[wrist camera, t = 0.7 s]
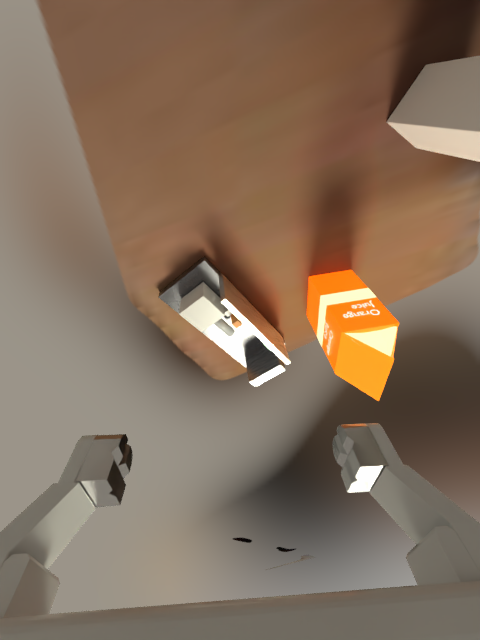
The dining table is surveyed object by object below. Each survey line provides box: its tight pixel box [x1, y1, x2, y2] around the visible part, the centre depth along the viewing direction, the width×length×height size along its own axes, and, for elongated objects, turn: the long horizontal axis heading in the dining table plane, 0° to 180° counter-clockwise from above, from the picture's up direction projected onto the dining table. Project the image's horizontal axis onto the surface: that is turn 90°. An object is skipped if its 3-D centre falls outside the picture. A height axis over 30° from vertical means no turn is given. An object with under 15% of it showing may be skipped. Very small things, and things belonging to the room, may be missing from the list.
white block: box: [179, 282, 235, 337], centre depth 44 cm, size 10×7×4 cm, turn 37°
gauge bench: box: [159, 256, 291, 387], centre depth 47 cm, size 24×11×8 cm, turn 37°
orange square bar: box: [230, 314, 242, 329], centre depth 44 cm, size 1×1×5 cm
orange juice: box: [307, 270, 399, 401], centre depth 41 cm, size 8×9×20 cm
